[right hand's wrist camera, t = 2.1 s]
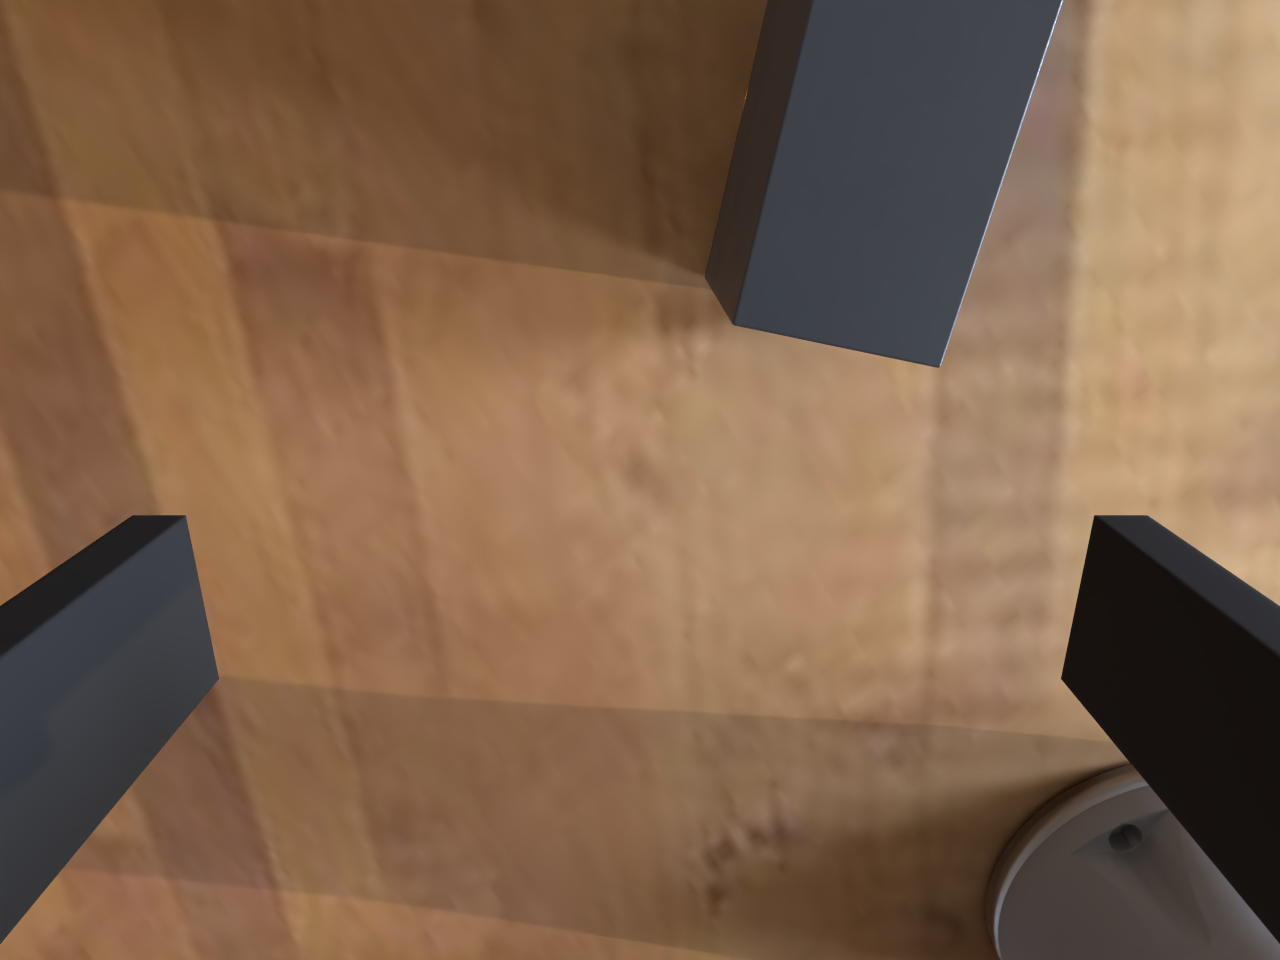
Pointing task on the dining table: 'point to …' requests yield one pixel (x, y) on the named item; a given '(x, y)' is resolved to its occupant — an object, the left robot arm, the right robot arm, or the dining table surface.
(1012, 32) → the beam
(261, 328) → the dining table surface
